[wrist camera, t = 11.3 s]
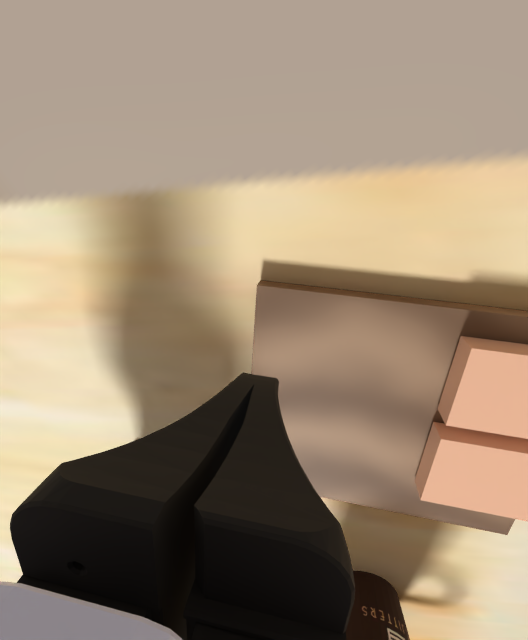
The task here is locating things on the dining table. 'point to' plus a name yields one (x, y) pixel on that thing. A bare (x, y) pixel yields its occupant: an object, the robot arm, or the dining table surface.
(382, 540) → the dining table surface
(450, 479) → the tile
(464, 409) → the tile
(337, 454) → the board
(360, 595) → the coffee mug
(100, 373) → the dining table surface
